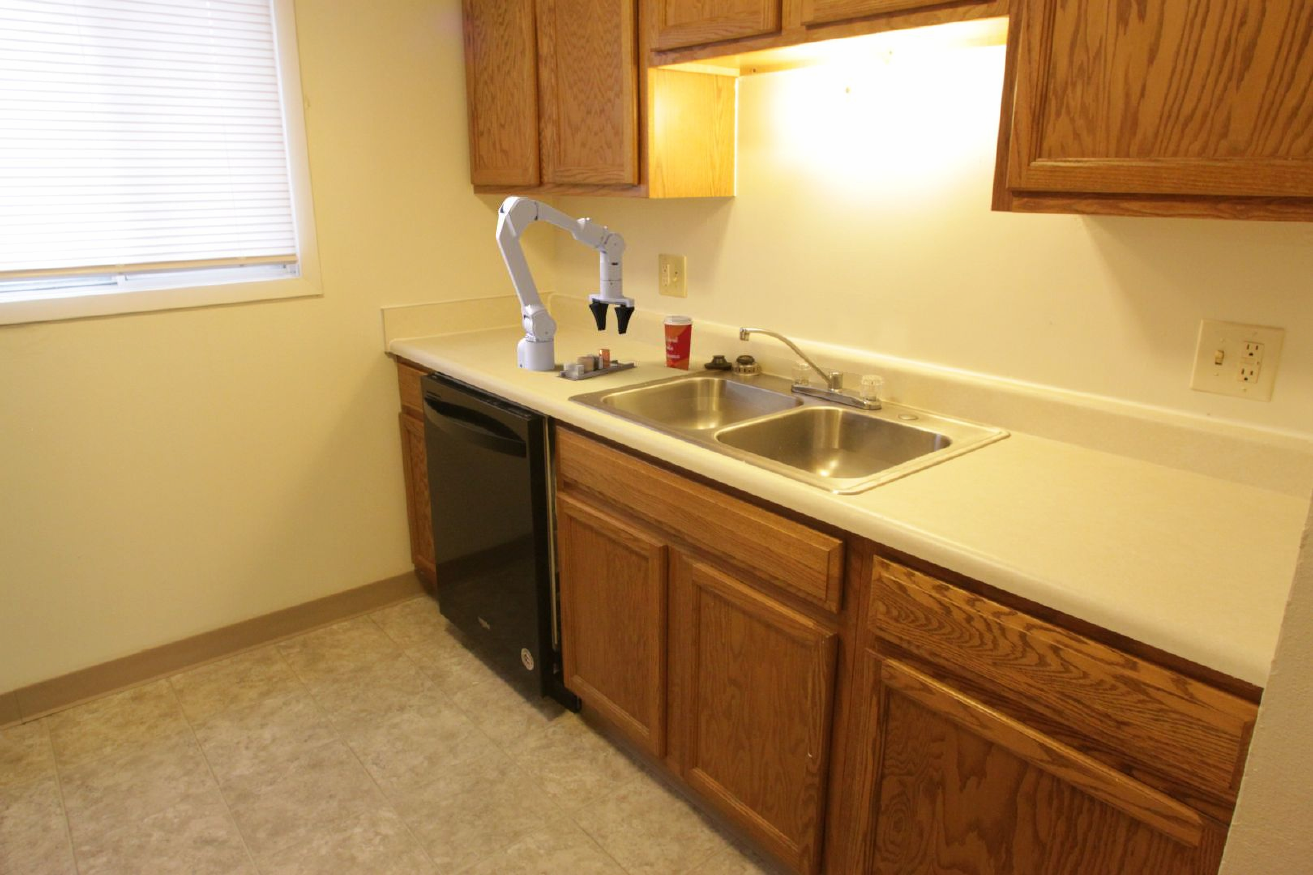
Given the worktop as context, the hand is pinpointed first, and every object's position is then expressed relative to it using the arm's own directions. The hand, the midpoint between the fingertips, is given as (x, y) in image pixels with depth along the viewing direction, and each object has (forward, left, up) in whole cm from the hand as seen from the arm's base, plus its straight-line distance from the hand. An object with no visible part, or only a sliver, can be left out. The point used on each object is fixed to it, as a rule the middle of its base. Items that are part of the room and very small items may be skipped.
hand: (611, 332), depth 230 cm
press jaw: (+6, -9, -8) cm, 13 cm away
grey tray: (+6, -11, -9) cm, 15 cm away
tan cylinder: (+6, -15, -8) cm, 18 cm away
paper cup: (+16, +8, -10) cm, 20 cm away
